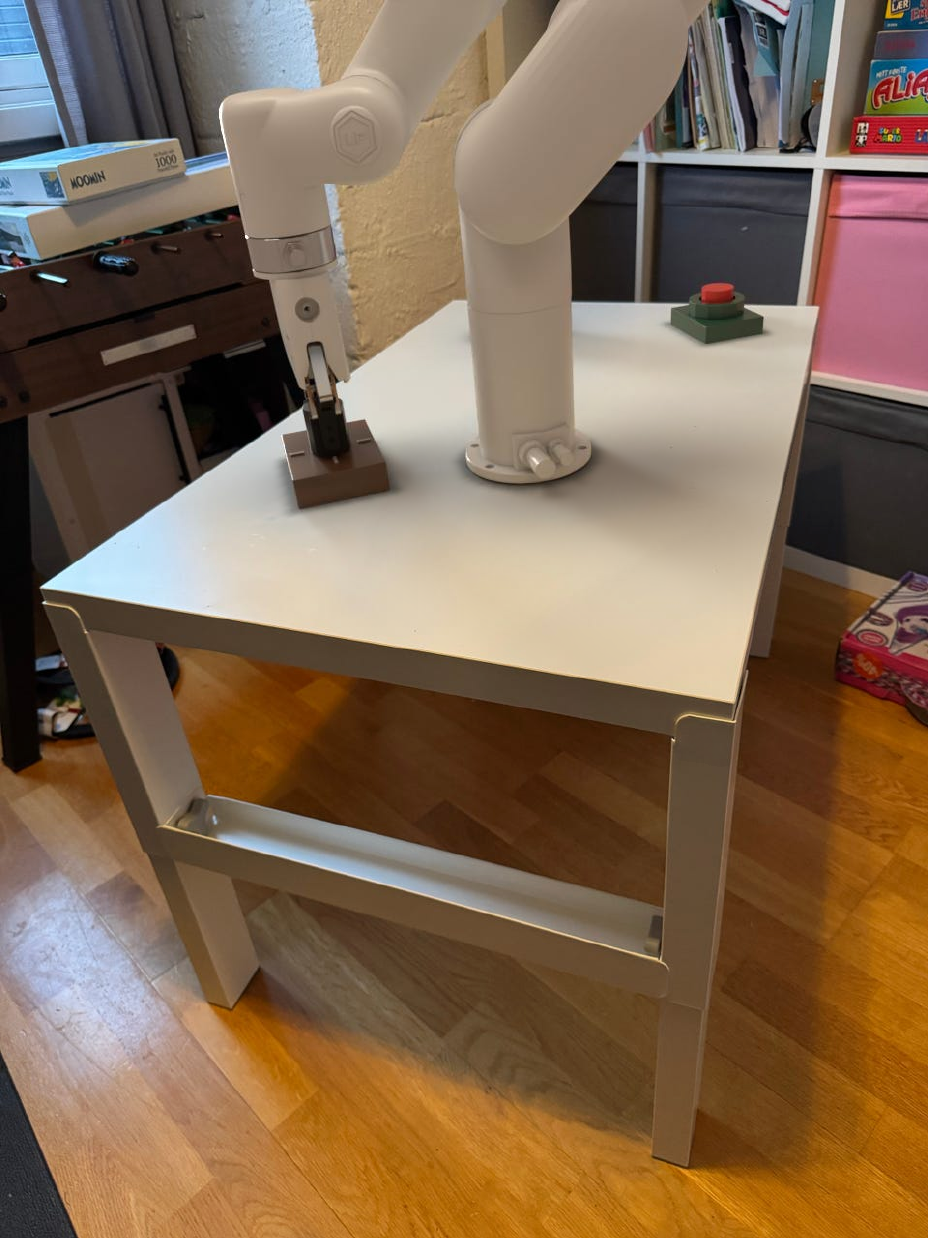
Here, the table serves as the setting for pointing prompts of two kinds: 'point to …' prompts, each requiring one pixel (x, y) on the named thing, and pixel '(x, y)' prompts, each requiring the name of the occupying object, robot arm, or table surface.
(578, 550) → the table surface
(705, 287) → the button
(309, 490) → the control panel
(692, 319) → the button housing
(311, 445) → the dial
